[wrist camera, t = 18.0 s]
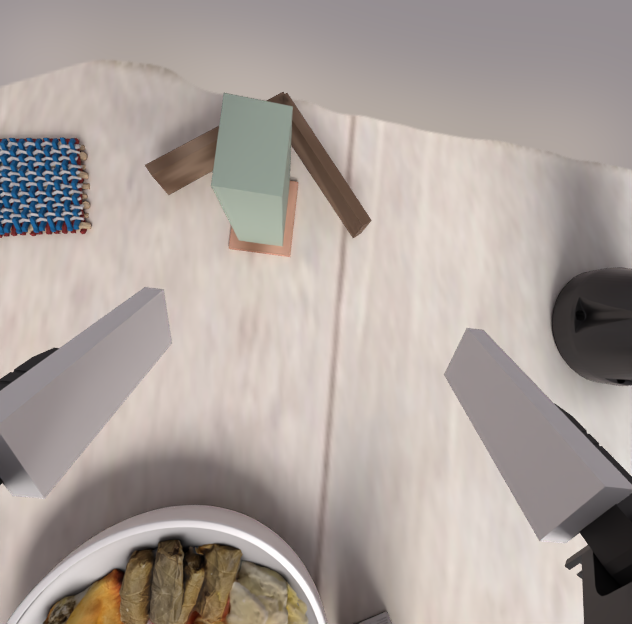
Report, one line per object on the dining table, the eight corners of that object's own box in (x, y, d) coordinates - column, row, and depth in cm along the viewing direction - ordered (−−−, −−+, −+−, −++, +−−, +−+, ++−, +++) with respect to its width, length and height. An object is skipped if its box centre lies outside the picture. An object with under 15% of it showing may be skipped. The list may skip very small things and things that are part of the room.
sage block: (289, 189, 32) (292, 106, 20) (282, 246, 31) (282, 196, 20) (246, 182, 31) (223, 92, 19) (238, 240, 31) (211, 185, 19)
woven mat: (91, 144, 31) (77, 131, 29) (96, 235, 30) (83, 229, 28) (-14, 145, 29) (-36, 131, 27) (-10, 241, 29) (-32, 234, 27)
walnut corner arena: (285, 119, 33) (285, 90, 29) (361, 233, 33) (371, 220, 29) (162, 186, 31) (144, 165, 27) (244, 308, 31) (239, 305, 27)
